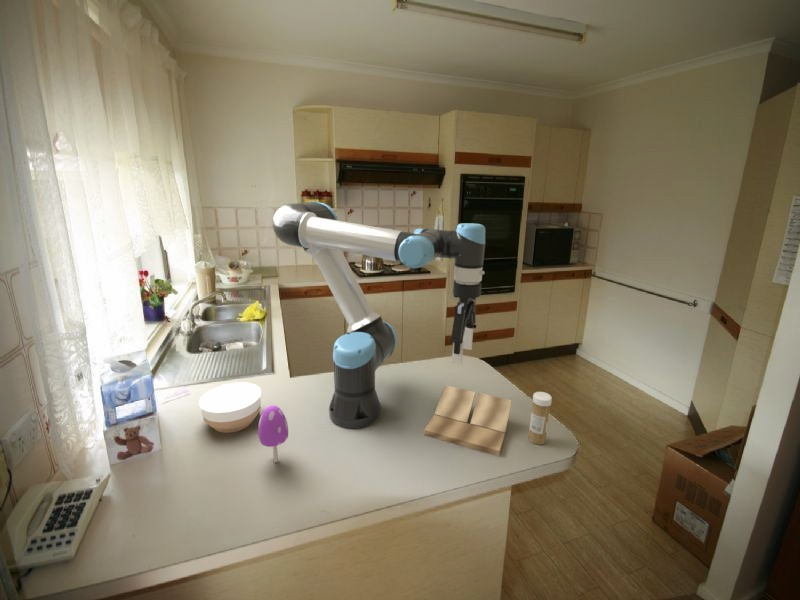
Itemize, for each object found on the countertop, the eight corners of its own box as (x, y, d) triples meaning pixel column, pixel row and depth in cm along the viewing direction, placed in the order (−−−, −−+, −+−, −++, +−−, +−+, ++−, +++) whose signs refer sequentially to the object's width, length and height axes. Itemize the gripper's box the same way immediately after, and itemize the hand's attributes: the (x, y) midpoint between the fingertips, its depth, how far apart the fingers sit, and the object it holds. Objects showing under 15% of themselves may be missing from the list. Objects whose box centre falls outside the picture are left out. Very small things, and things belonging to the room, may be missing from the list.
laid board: (424, 435, 105) (424, 429, 105) (435, 416, 113) (435, 412, 113) (498, 456, 97) (499, 450, 97) (505, 435, 106) (505, 430, 105)
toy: (274, 474, 90) (269, 418, 86) (255, 463, 93) (249, 408, 89) (296, 458, 95) (292, 404, 91) (277, 448, 99) (273, 396, 94)
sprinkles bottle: (549, 441, 103) (555, 396, 100) (538, 447, 101) (544, 401, 97) (534, 432, 107) (540, 389, 103) (523, 438, 105) (529, 393, 101)
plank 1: (434, 416, 113) (434, 414, 112) (444, 387, 119) (444, 385, 118) (467, 424, 109) (466, 422, 108) (475, 394, 115) (475, 392, 114)
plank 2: (470, 425, 109) (470, 423, 108) (478, 394, 115) (478, 392, 114) (505, 434, 105) (505, 432, 104) (511, 402, 111) (511, 400, 110)
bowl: (238, 400, 120) (236, 377, 118) (275, 415, 113) (273, 391, 110) (189, 426, 107) (185, 401, 105) (227, 446, 99) (224, 419, 97)
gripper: (470, 293, 94) (464, 375, 101) (489, 274, 114) (483, 344, 121) (441, 289, 97) (437, 369, 103) (465, 271, 117) (460, 339, 124)
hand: (462, 355), depth 112 cm, fingers open, 10 cm apart
